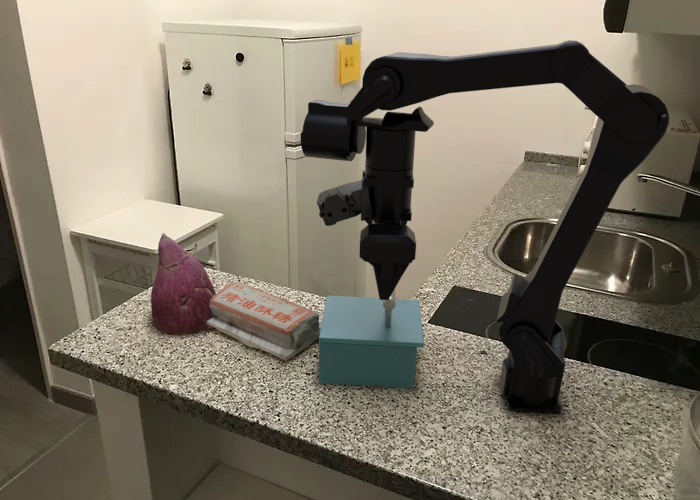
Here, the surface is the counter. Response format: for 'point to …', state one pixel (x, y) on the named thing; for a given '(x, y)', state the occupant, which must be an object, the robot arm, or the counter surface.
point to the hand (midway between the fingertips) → (383, 282)
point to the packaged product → (263, 320)
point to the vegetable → (180, 291)
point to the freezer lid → (372, 321)
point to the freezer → (367, 365)
